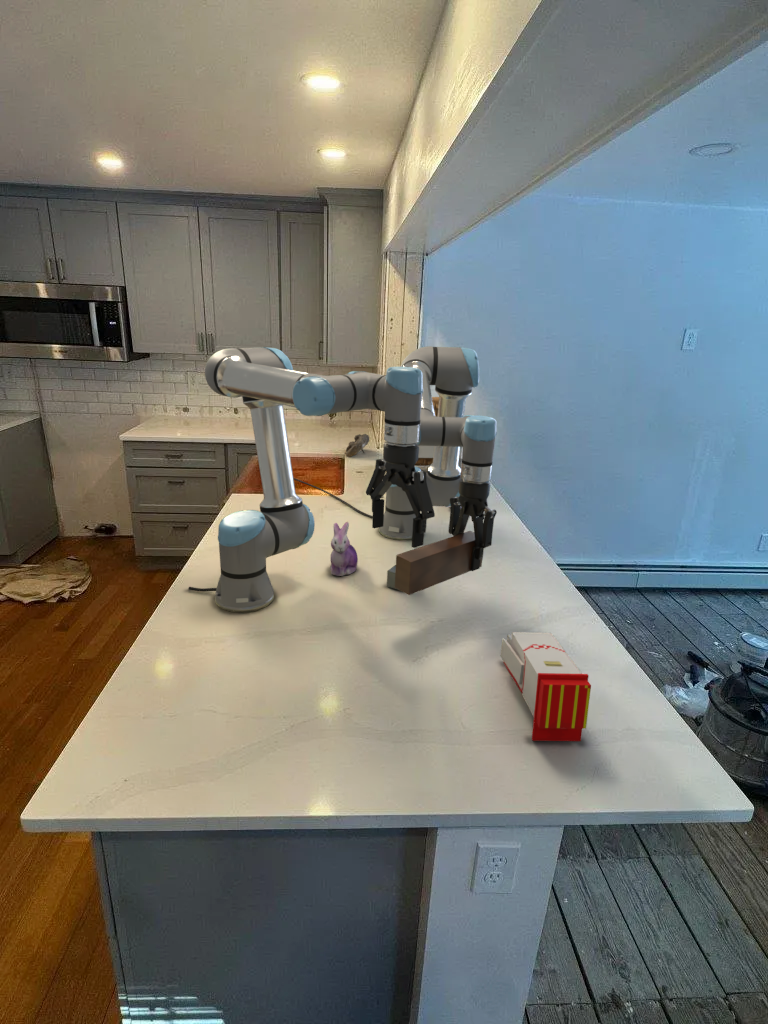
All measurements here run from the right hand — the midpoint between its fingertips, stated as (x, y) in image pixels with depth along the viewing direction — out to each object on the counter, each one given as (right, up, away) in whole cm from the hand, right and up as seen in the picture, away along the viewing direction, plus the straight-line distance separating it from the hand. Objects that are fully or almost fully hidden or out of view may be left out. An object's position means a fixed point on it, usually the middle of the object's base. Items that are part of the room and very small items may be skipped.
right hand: (466, 565), depth 148 cm
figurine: (-34, -4, +23) cm, 41 cm away
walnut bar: (-7, -2, -6) cm, 10 cm away
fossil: (-36, +46, +160) cm, 170 cm away
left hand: (-19, +8, -21) cm, 29 cm away
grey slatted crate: (-4, +33, +127) cm, 132 cm away
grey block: (-17, -7, +15) cm, 24 cm away
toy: (+10, -24, -29) cm, 39 cm away
